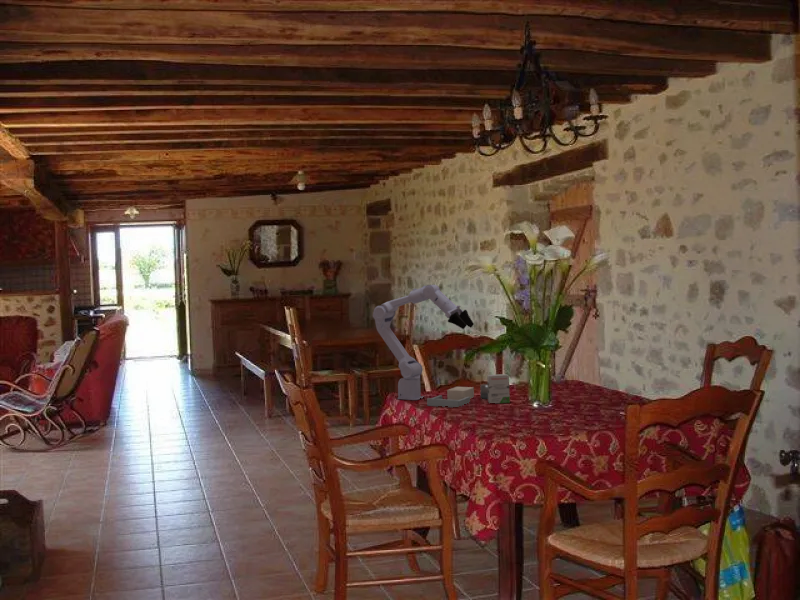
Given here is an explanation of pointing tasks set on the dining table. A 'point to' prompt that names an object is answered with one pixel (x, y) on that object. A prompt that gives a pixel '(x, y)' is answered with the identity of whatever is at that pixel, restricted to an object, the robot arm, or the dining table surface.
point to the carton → (460, 393)
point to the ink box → (498, 388)
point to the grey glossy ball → (484, 391)
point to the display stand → (446, 402)
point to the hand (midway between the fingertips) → (468, 326)
